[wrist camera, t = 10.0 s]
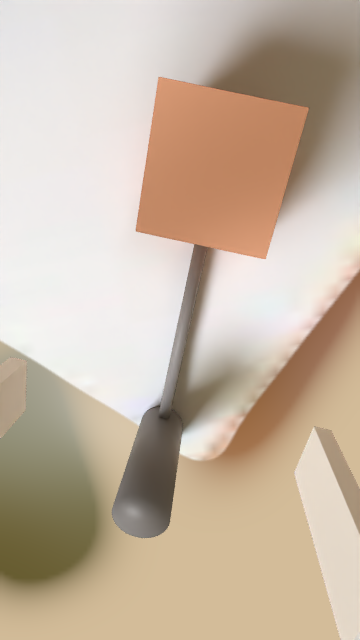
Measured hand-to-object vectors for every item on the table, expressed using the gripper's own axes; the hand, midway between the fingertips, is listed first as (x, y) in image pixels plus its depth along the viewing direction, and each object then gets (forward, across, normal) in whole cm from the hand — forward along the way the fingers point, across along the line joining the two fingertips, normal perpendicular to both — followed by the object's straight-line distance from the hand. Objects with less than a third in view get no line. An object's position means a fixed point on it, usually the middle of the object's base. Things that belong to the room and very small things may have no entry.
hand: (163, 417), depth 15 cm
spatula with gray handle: (+9, 0, +2) cm, 9 cm away
